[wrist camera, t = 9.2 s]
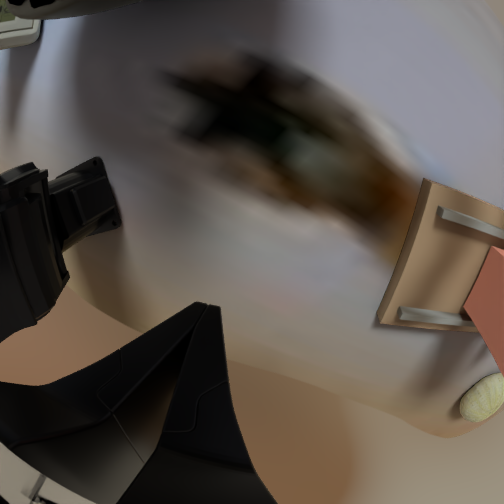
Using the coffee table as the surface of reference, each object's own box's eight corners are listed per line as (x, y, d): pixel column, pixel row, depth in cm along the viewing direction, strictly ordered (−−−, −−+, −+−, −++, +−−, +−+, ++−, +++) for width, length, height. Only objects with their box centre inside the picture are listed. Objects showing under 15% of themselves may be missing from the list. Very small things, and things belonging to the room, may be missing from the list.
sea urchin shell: (521, 369, 21) (512, 420, 18) (491, 369, 28) (483, 414, 26) (486, 376, 22) (474, 433, 19) (454, 374, 29) (445, 423, 27)
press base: (376, 312, 22) (391, 362, 17) (423, 177, 16) (465, 201, 11) (500, 325, 20) (521, 360, 15) (544, 231, 15) (577, 258, 10)
